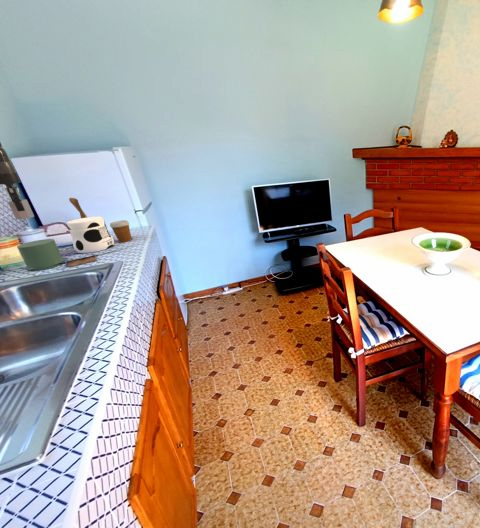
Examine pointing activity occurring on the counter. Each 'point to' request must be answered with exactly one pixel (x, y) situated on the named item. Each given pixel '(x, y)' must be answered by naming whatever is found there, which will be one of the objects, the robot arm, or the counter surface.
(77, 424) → the counter surface
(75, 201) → the wooden handled tool
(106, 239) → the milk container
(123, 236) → the disposable coffee cup
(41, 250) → the green tapered cylinder
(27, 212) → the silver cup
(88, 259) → the coaster
